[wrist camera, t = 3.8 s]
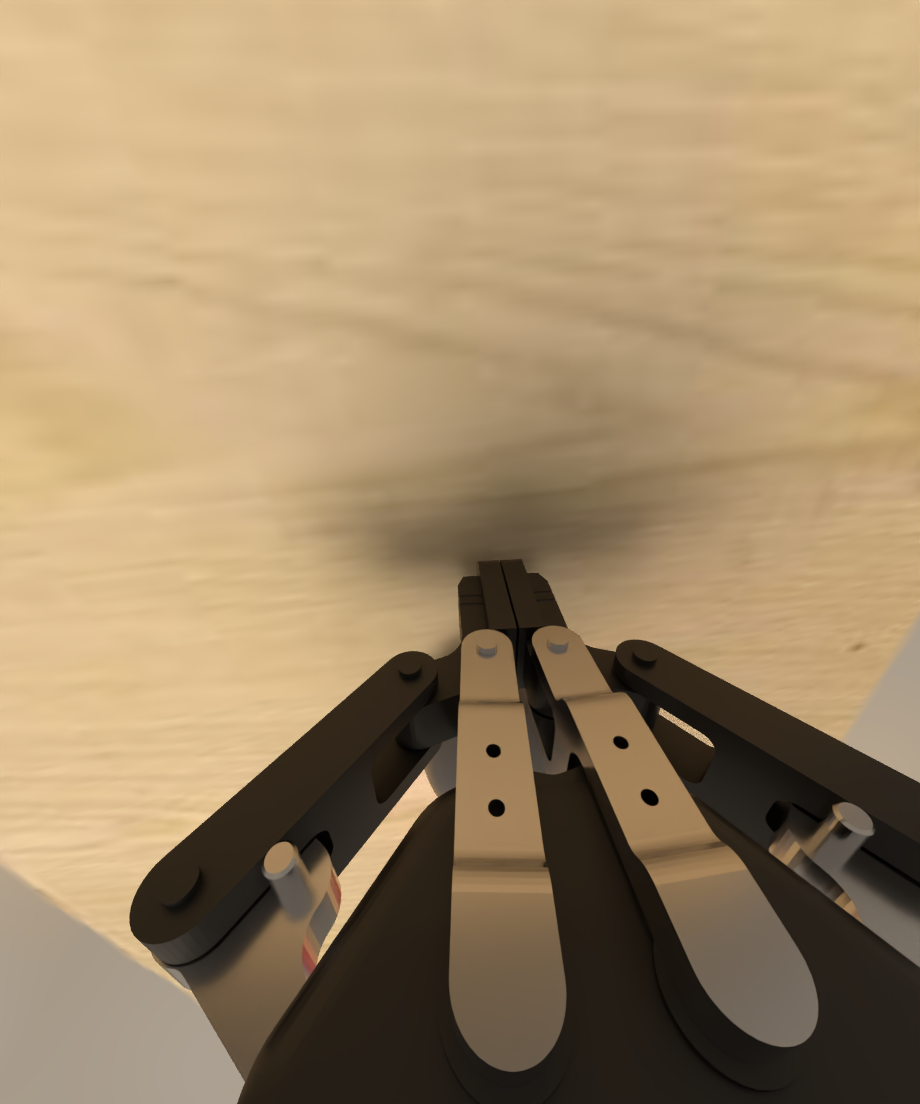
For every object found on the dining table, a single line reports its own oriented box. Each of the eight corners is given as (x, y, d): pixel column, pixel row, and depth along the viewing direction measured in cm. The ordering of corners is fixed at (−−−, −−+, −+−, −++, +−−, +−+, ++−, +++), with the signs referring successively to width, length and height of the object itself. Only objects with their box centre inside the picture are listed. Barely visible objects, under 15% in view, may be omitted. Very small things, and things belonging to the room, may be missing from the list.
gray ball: (572, 680, 18) (622, 810, 13) (485, 740, 20) (501, 874, 15) (486, 616, 16) (508, 745, 11) (397, 691, 18) (383, 829, 13)
